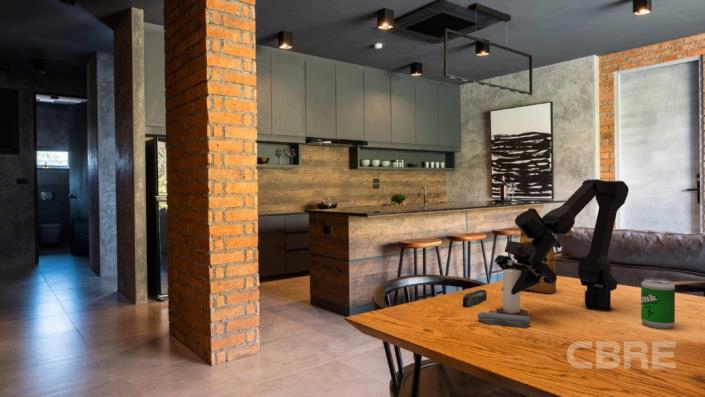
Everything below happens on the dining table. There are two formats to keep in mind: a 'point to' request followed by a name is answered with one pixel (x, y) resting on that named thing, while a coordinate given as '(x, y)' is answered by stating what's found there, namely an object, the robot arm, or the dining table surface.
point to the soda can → (658, 303)
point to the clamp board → (507, 323)
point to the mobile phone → (474, 298)
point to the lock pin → (509, 300)
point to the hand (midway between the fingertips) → (507, 292)
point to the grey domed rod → (504, 317)
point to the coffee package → (543, 286)
